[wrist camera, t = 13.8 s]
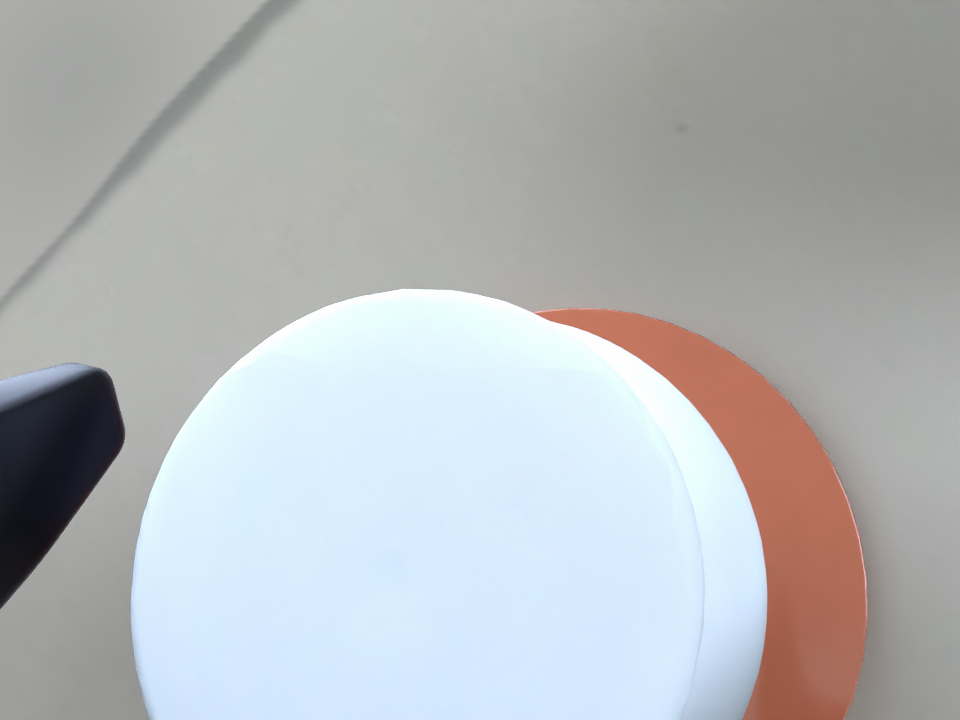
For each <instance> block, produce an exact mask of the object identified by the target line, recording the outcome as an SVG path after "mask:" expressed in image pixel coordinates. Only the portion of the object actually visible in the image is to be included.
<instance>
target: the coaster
mask: <svg viewBox="0 0 960 720" xmlns="http://www.w3.org/2000/svg"><path fill="white" fill-rule="evenodd" d="M532 313H534V314H536V315H538V316H540V317H542V318H544V319H546V320H548V321H551V322H555V323H559V324H563V325H567V326H571V327H574V328H577V329H580V330H583V331H586V332H589V333H591V334H593V335H596V336H598V337H600V338H603V339H605V340H607V341H609V342H611V343H613V344H615V345H617V346H619V347H621V348H622V349H624V350H626V351H627V352H629V353H631V354H632V355H634V356H636V357H637V358H639V359H640V360H642V361H643V362H644V363H646V364H647V365H648V366H650V367H651V368H653V369H654V370H655V371H657V372H658V373H659V374H661V375H662V376H663V377H665V378H666V379H667V380H668V381H669V382H670V383H671V384H672V385H673V386H674V387H675V388H677V389H678V390H679V391H680V392H681V393H682V394H683V395H684V396H685V397H686V398H687V399H688V400H689V401H690V402H691V403H692V404H693V406H694V407H695V408H696V409H697V410H698V412H699V413H700V414H701V415H702V416H703V418H704V419H705V420H706V421H707V423H708V424H709V425H710V426H711V428H712V429H713V431H714V432H715V434H716V435H717V437H718V439H719V440H720V442H721V443H722V445H723V446H724V448H725V449H726V451H727V452H728V454H729V456H730V457H731V459H732V461H733V463H734V465H735V467H736V469H737V472H738V474H739V476H740V478H741V480H742V482H743V485H744V487H745V489H746V492H747V495H748V497H749V500H750V503H751V506H752V509H753V512H754V515H755V518H756V521H757V524H758V528H759V532H760V537H761V541H762V547H763V554H764V561H765V568H766V579H767V623H766V632H765V641H764V649H763V654H762V659H761V664H760V669H759V673H758V677H757V680H756V683H755V686H754V689H753V692H752V695H751V698H750V700H749V703H748V706H747V708H746V711H745V714H744V716H743V719H742V720H844V719H845V717H846V714H847V712H848V710H849V707H850V705H851V703H852V700H853V697H854V693H855V689H856V685H857V681H858V678H859V674H860V670H861V666H862V662H863V657H864V648H865V640H866V631H867V622H868V603H867V575H866V569H865V563H864V557H863V550H862V544H861V538H860V535H859V531H858V528H857V525H856V521H855V518H854V515H853V511H852V508H851V505H850V501H849V499H848V497H847V494H846V492H845V490H844V488H843V485H842V483H841V481H840V479H839V476H838V474H837V472H836V470H835V468H834V465H833V463H832V462H831V460H830V458H829V457H828V455H827V454H826V452H825V450H824V449H823V447H822V445H821V444H820V442H819V441H818V439H817V437H816V436H815V434H814V432H813V431H812V430H811V428H810V427H809V426H808V425H807V423H806V422H805V421H804V420H803V418H802V417H801V416H800V415H799V413H798V412H797V411H796V410H795V408H794V407H793V406H792V405H791V403H790V402H789V401H788V400H787V399H786V398H785V397H784V396H783V395H782V394H781V393H780V392H779V391H777V390H776V389H775V388H774V387H773V386H772V385H771V384H770V383H769V382H768V381H767V380H766V379H765V378H764V377H763V376H762V375H761V374H759V373H758V372H757V371H755V370H754V369H753V368H751V367H750V366H749V365H747V364H746V363H745V362H743V361H742V360H740V359H739V358H738V357H736V356H735V355H734V354H732V353H731V352H729V351H727V350H725V349H724V348H722V347H720V346H718V345H717V344H715V343H713V342H711V341H709V340H708V339H706V338H704V337H702V336H700V335H698V334H695V333H693V332H691V331H688V330H686V329H683V328H681V327H679V326H676V325H674V324H671V323H669V322H665V321H661V320H658V319H654V318H650V317H647V316H643V315H640V314H636V313H629V312H622V311H615V310H608V309H590V308H566V309H556V310H546V311H537V312H532Z"/></svg>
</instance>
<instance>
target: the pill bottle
mask: <svg viewBox="0 0 960 720" xmlns="http://www.w3.org/2000/svg"><path fill="white" fill-rule="evenodd" d="M766 623H767V579H766V568H765V561H764V554H763V547H762V541H761V537H760V532H759V528H758V524H757V521H756V518H755V515H754V512H753V509H752V506H751V503H750V500H749V497H748V495H747V492H746V489H745V487H744V485H743V482H742V480H741V478H740V476H739V474H738V472H737V469H736V467H735V465H734V463H733V461H732V459H731V457H730V456H729V454H728V452H727V451H726V449H725V448H724V446H723V445H722V443H721V442H720V440H719V439H718V437H717V435H716V434H715V432H714V431H713V429H712V428H711V426H710V425H709V424H708V423H707V421H706V420H705V419H704V418H703V416H702V415H701V414H700V413H699V412H698V410H697V409H696V408H695V407H694V406H693V404H692V403H691V402H690V401H689V400H688V399H687V398H686V397H685V396H684V395H683V394H682V393H681V392H680V391H679V390H678V389H677V388H675V387H674V386H673V385H672V384H671V383H670V382H669V381H668V380H667V379H666V378H665V377H663V376H662V375H661V374H659V373H658V372H657V371H655V370H654V369H653V368H651V367H650V366H648V365H647V364H646V363H644V362H643V361H642V360H640V359H639V358H637V357H636V356H634V355H632V354H631V353H629V352H627V351H626V350H624V349H622V348H621V347H619V346H617V345H615V344H613V343H611V342H609V341H607V340H605V339H603V338H600V337H598V336H596V335H593V334H591V333H589V332H586V331H583V330H580V329H577V328H574V327H571V326H567V325H563V324H559V323H555V322H551V321H548V320H546V319H544V318H542V317H540V316H538V315H536V314H534V313H532V312H529V311H527V310H525V309H522V308H520V307H517V306H515V305H512V304H510V303H508V302H505V301H501V300H497V299H493V298H489V297H484V296H480V295H476V294H471V293H465V292H458V291H452V290H417V289H401V290H395V291H390V292H384V293H379V294H373V295H367V296H361V297H356V298H353V299H349V300H346V301H342V302H339V303H336V304H332V305H329V306H327V307H325V308H322V309H320V310H318V311H316V312H313V313H311V314H309V315H307V316H305V317H303V318H301V319H299V320H297V321H295V322H293V323H291V324H289V325H288V326H286V327H285V328H283V329H282V330H280V331H278V332H277V333H275V334H274V335H272V336H271V337H269V338H268V339H267V340H265V341H264V342H263V343H261V344H260V345H258V346H257V347H256V348H255V349H253V350H252V351H251V352H250V353H249V354H247V355H246V356H244V357H243V358H242V359H240V360H239V361H238V362H237V363H236V364H235V365H234V366H233V367H232V368H231V369H230V370H229V371H228V372H227V373H226V374H225V375H224V376H223V377H222V378H220V379H219V380H218V381H217V383H216V384H215V385H214V386H213V387H212V388H211V390H210V391H209V392H208V393H207V395H206V396H205V397H204V398H203V400H202V401H201V402H200V403H199V405H198V406H197V407H196V409H195V410H194V411H193V413H192V414H191V415H190V417H189V418H188V420H187V421H186V423H185V424H184V426H183V428H182V429H181V431H180V432H179V434H178V435H177V437H176V438H175V440H174V442H173V444H172V446H171V448H170V450H169V452H168V454H167V456H166V458H165V460H164V462H163V465H162V467H161V469H160V472H159V474H158V476H157V479H156V481H155V483H154V486H153V488H152V491H151V493H150V496H149V500H148V503H147V506H146V509H145V512H144V515H143V518H142V523H141V530H140V534H139V538H138V542H137V546H136V554H135V562H134V570H133V582H132V597H131V628H132V643H133V650H134V657H135V664H136V670H137V674H138V679H139V683H140V687H141V691H142V695H143V699H144V702H145V706H146V710H147V713H148V716H149V718H150V720H742V719H743V716H744V714H745V711H746V708H747V706H748V703H749V700H750V698H751V695H752V692H753V689H754V686H755V683H756V680H757V677H758V673H759V669H760V664H761V659H762V654H763V649H764V641H765V632H766Z"/></svg>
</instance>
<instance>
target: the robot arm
mask: <svg viewBox="0 0 960 720" xmlns="http://www.w3.org/2000/svg"><path fill="white" fill-rule="evenodd" d="M124 440H125V427H124V423H123V419H122V415H121V411H120V407H119V404H118V400H117V396H116V392H115V388H114V385H113V381H112V379H111V377H110V376H109V375H108V373H107V372H106V371H104V370H102V369H100V368H96V367H92V366H88V365H83V364H79V363H66V364H61V365H58V366H54V367H50V368H46V369H42V370H38V371H35V372H31V373H27V374H23V375H19V376H15V377H12V378H8V379H4V380H0V609H1V608H2V607H3V606H4V604H5V603H6V602H7V601H8V600H9V599H10V598H11V596H12V595H13V594H14V593H15V592H16V591H17V589H18V588H19V587H20V586H21V585H22V584H23V582H24V581H25V580H26V579H27V578H28V577H29V575H30V574H31V573H32V572H33V570H34V569H35V568H36V567H37V566H38V564H39V563H40V562H41V561H42V559H43V558H44V557H45V555H46V554H47V553H48V551H49V550H50V549H51V547H52V546H53V545H54V543H55V542H56V541H57V539H58V538H59V536H60V535H61V534H62V532H63V531H64V529H65V528H66V527H67V525H68V524H69V522H70V521H71V520H72V518H73V517H74V516H75V514H76V513H77V511H78V510H79V509H80V507H81V506H82V504H83V503H84V502H85V500H86V499H87V497H88V496H89V495H90V493H91V492H92V490H93V489H94V488H95V486H96V485H97V483H98V482H99V481H100V479H101V478H102V476H103V475H104V474H105V472H106V471H107V469H108V468H109V467H110V465H111V464H112V462H113V461H114V460H115V458H116V457H117V455H118V454H119V452H120V451H121V449H122V446H123V444H124Z"/></svg>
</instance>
